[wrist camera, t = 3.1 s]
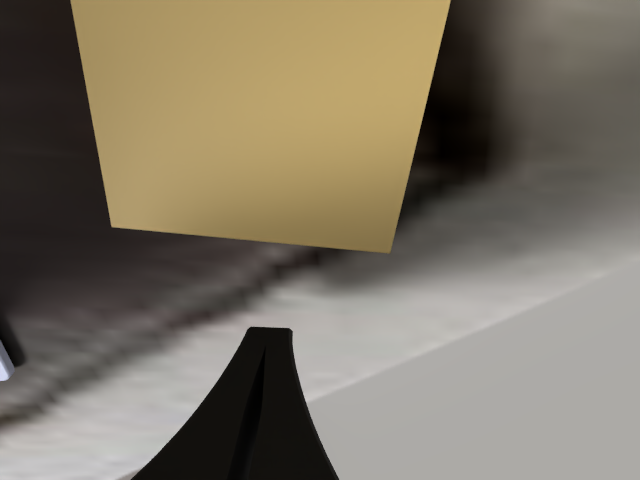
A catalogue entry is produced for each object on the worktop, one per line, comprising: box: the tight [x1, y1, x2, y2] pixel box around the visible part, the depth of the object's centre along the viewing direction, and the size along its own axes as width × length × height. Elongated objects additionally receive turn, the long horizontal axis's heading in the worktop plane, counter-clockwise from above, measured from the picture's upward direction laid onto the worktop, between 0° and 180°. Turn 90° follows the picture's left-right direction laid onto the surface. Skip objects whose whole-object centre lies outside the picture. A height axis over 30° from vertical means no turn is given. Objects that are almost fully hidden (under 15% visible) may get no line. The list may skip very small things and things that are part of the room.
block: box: [71, 0, 451, 253], centre depth 10 cm, size 7×7×4 cm
